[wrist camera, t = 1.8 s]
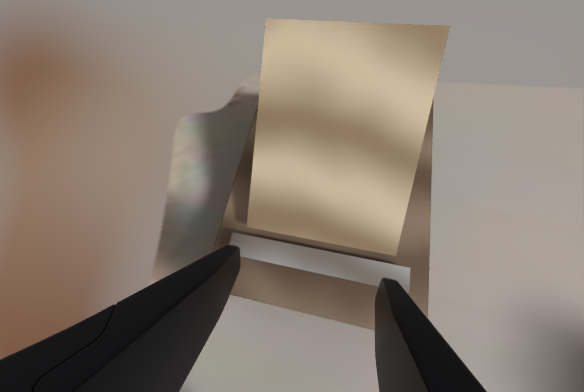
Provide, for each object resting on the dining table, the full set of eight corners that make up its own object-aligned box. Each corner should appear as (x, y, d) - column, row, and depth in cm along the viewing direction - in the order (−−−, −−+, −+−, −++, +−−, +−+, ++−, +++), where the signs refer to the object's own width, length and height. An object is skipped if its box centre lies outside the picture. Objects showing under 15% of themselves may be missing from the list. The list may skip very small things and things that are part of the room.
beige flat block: (402, 328, 18) (435, 347, 13) (224, 285, 21) (194, 287, 16) (413, 121, 24) (439, 79, 19) (274, 107, 27) (264, 66, 22)
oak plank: (392, 248, 16) (396, 256, 15) (252, 222, 18) (246, 226, 16) (440, 36, 13) (450, 25, 12) (271, 29, 15) (266, 18, 14)
